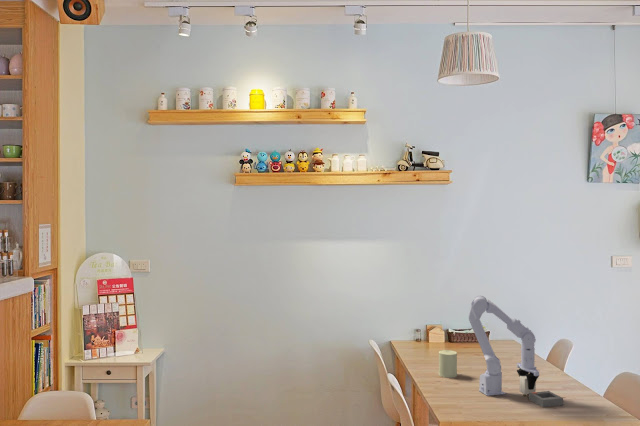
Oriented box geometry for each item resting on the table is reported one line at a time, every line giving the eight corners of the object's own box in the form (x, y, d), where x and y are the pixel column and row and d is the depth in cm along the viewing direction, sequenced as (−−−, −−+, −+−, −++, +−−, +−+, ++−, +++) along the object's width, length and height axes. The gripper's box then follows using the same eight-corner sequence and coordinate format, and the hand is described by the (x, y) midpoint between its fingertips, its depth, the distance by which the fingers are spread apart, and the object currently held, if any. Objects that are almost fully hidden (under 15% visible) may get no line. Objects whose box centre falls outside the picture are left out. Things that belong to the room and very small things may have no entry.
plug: (535, 395, 268) (535, 377, 268) (524, 396, 266) (524, 378, 266) (530, 393, 272) (530, 375, 271) (519, 394, 270) (519, 376, 270)
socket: (563, 405, 256) (563, 397, 256) (542, 407, 253) (542, 399, 253) (548, 397, 265) (548, 390, 265) (528, 399, 263) (528, 392, 263)
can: (454, 372, 305) (454, 349, 304) (459, 377, 295) (459, 353, 295) (436, 372, 304) (436, 349, 304) (440, 377, 295) (440, 353, 295)
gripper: (545, 361, 263) (545, 391, 263) (526, 352, 277) (526, 382, 277) (531, 362, 261) (531, 393, 261) (512, 353, 275) (512, 383, 275)
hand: (527, 387), depth 269 cm, fingers open, 5 cm apart
